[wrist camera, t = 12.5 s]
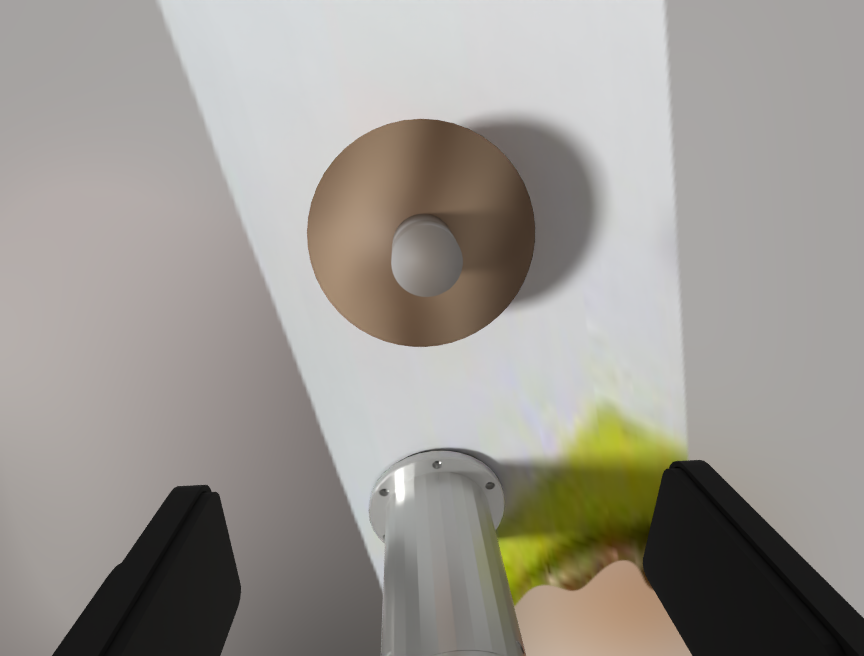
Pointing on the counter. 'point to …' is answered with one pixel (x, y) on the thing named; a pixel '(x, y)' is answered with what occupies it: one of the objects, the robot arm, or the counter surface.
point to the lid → (421, 232)
